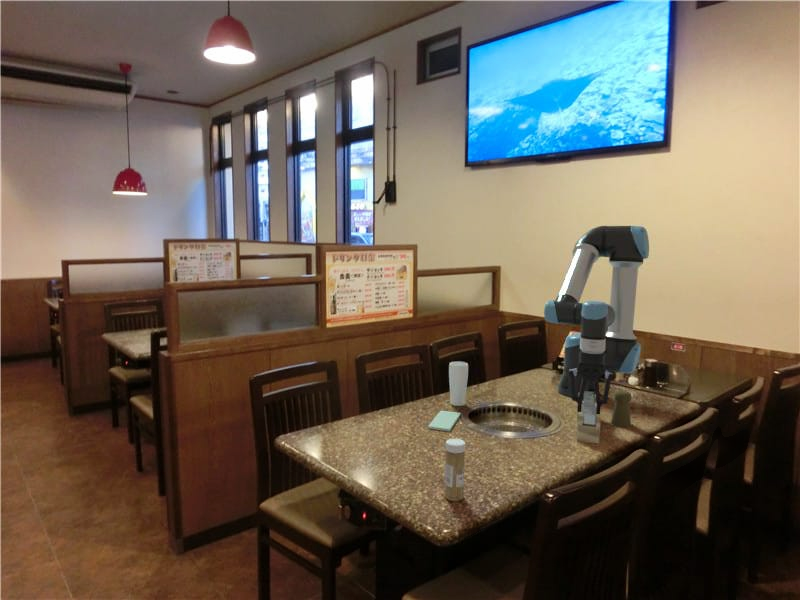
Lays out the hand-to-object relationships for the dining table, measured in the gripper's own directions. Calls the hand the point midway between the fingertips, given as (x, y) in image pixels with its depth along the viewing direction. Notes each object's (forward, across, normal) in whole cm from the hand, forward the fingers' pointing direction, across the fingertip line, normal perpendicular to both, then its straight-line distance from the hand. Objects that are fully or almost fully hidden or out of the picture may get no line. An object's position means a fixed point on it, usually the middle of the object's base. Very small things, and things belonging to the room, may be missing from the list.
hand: (587, 423), depth 169 cm
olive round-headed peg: (+2, +10, +8) cm, 13 cm away
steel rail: (-4, 0, 0) cm, 4 cm away
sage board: (+2, -44, -10) cm, 45 cm away
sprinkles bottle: (+1, -30, -58) cm, 66 cm away
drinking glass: (+2, -44, +9) cm, 45 cm away
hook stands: (+2, 0, 0) cm, 2 cm away
